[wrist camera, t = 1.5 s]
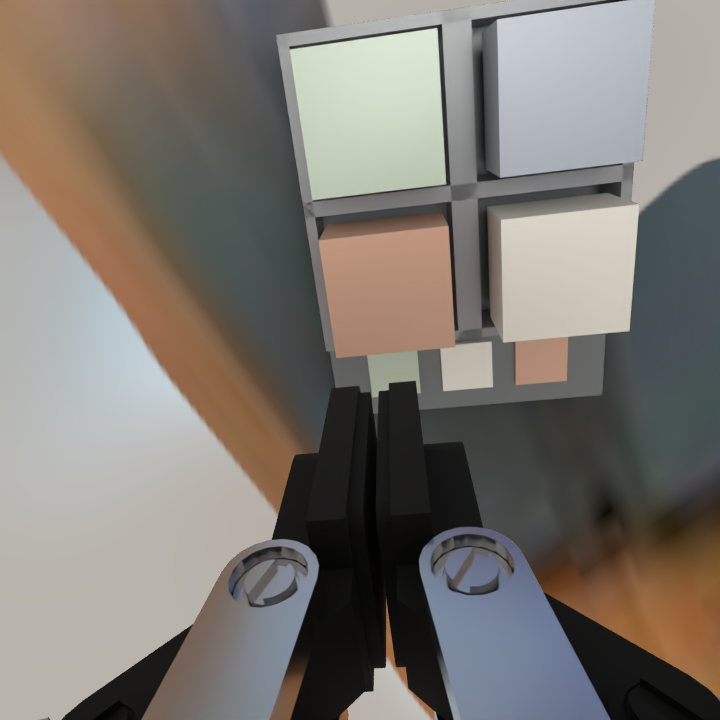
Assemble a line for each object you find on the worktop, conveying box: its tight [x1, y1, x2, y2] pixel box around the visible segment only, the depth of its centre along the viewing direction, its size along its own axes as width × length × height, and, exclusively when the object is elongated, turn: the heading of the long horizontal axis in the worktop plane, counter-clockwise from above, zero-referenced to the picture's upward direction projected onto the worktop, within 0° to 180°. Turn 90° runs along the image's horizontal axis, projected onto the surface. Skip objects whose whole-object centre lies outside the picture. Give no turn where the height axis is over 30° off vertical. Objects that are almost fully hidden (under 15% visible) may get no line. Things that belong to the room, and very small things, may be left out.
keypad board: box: [276, 0, 634, 414], centre depth 24 cm, size 13×17×4 cm
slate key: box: [482, 0, 655, 178], centre depth 19 cm, size 5×5×3 cm
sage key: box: [290, 28, 446, 200], centre depth 19 cm, size 5×5×3 cm
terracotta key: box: [319, 212, 455, 358], centre depth 22 cm, size 5×5×3 cm
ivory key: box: [487, 193, 639, 343], centre depth 21 cm, size 5×5×3 cm
